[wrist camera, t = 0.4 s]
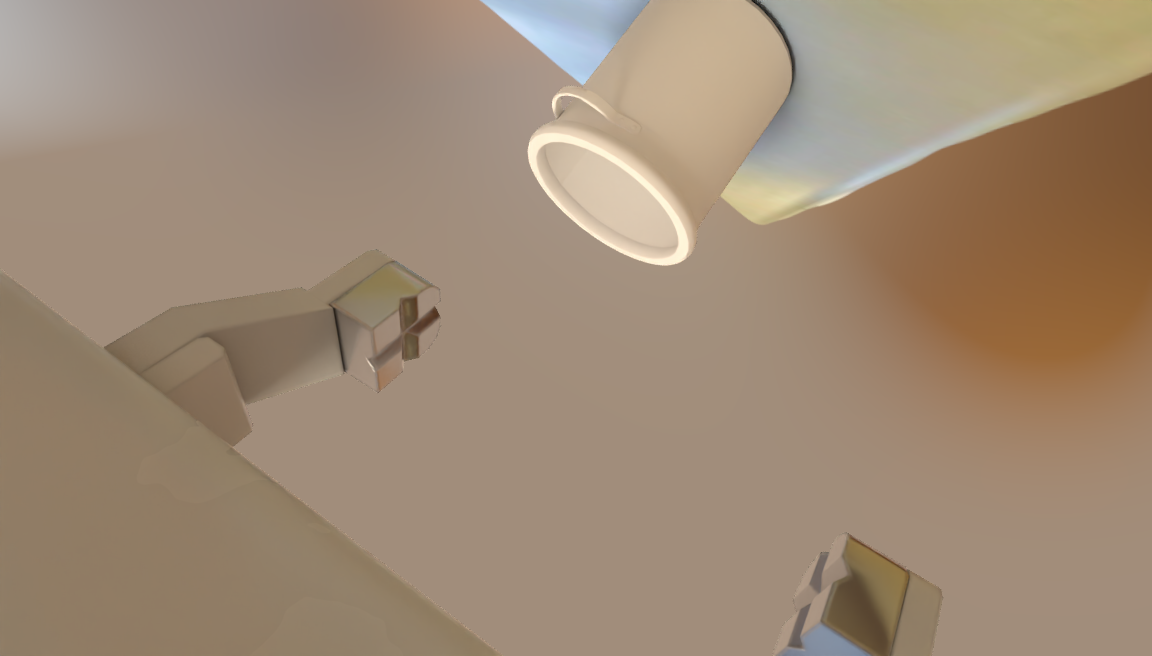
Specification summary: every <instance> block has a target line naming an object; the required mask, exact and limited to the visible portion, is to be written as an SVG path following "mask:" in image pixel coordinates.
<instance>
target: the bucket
mask: <svg viewBox="0 0 1152 656" xmlns="http://www.w3.org/2000/svg"><path fill="white" fill-rule="evenodd" d="M791 81H792V62H791V58H790V54H789V50H788V47H787V45H786V43H785V41H784V39H783V37H782V34H781V33H780V32H779V30H778V29H777V27H776V26H775V24H774V23H773V21H772V20H771V19H770V18H769V17H768V16H767V15H766V14H765V13H764V12H763V10H762V9H761V8H760V7H759V6H757V5H756V4H755V3H753V2H752V1H751V0H650V1H649V3H648V4H647V5H646V6H645V8H644V9H643V10H642V11H641V13H640V14H639V15H638V17H637V18H636V19H635V20H634V22H633V23H632V24H631V25H630V27H629V28H628V29H627V31H626V32H625V33H624V34H623V36H622V37H621V38H620V39H619V41H618V42H617V43H616V45H615V46H614V47H613V48H612V50H611V51H610V52H609V53H608V55H607V56H606V57H605V59H604V60H603V61H602V62H601V64H600V65H599V66H598V67H597V69H596V70H595V71H594V73H593V74H592V75H591V76H590V78H589V79H588V80H587V81H586V83H585V84H584V85H583V87H578V86H565V87H563V88H562V89H561V90H559V92H558V93H557V94H556V95H555V96H554V98H553V100H552V108H553V113H554V115H555V120H554V121H552V122H549V123H547V124H545V125H542V126H540V127H539V128H538V129H537V130H536V131H535V133H534V134H533V135H532V136H531V138H530V142H529V146H528V158H529V163H530V165H531V168H532V171H533V173H534V175H535V176H536V178H537V180H538V182H539V183H540V185H541V186H542V188H543V189H544V190H545V192H546V193H547V194H548V196H549V197H550V198H551V199H552V200H553V201H554V202H555V204H556V205H557V206H558V207H559V208H560V209H561V210H562V211H563V212H564V213H565V214H566V215H567V216H568V217H570V218H571V219H572V220H573V221H574V222H575V223H577V224H578V225H579V226H580V227H581V228H583V229H584V230H585V231H587V232H588V233H589V234H591V235H592V236H594V237H595V238H597V239H598V240H600V241H601V242H603V243H604V244H606V245H608V246H609V247H611V248H613V249H615V250H617V251H619V252H621V253H623V254H625V255H627V256H630V257H632V258H634V259H637V260H640V261H644V262H646V263H651V264H656V265H673V264H676V263H679V262H681V261H683V260H685V259H686V258H687V257H689V256H690V254H691V253H692V252H693V249H694V248H695V246H696V242H697V229H698V228H699V225H700V224H701V222H702V221H703V220H704V218H705V217H706V215H707V214H708V212H709V211H710V209H711V208H712V206H713V205H714V203H715V202H716V201H717V199H718V198H719V196H720V195H721V193H722V192H723V190H724V189H725V187H726V186H727V185H728V183H729V182H730V180H731V179H732V177H733V176H734V174H735V173H736V171H737V170H738V169H739V167H740V166H741V164H742V163H743V161H744V160H745V158H746V157H747V155H748V154H749V152H750V151H751V150H752V148H753V147H754V145H755V144H756V142H757V141H758V139H759V138H760V136H761V135H762V134H763V132H764V131H765V129H766V128H767V126H768V125H769V123H770V122H771V120H772V119H773V117H774V116H775V115H776V113H777V112H778V110H779V109H780V107H781V106H782V104H783V103H784V101H785V99H786V97H787V96H788V94H789V90H790V86H791ZM566 95H567V96H574V98H573V99H572V101H571V102H570V103H569V105H568V106H567V107H566V108H565V110H564V111H563V108H562V104H561V97H562V96H566Z"/></svg>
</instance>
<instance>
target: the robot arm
mask: <svg viewBox="0 0 1152 656" xmlns="http://www.w3.org/2000/svg"><path fill="white" fill-rule="evenodd" d="M440 301H441V298H440V289H439V288H438V287H436V286H435V285H433V284H432V283H430V282H428V281H427V280H425V279H424V278H422V277H421V276H419V275H417V274H416V273H414V272H413V271H411V270H409V269H408V268H406V267H405V266H403V265H401V264H400V263H399V262H397V261H395V260H394V259H392V258H390V257H389V256H387V255H386V254H384V253H382V252H381V251H379V250H377V249H376V250H371V251H367V252H365V253H364V254H362V255H361V256H359V257H358V258H356V259H355V260H353V261H352V262H350V263H349V264H347V265H346V266H344V267H343V268H341V269H340V270H338V271H337V272H335V273H333V274H332V275H331V276H329V277H328V278H326V279H324V280H323V281H321V282H320V283H319V284H317V285H315V286H314V287H312V288H311V289H309V290H308V291H307V290H305V289H303V288H302V287H301V288H295V289H289V290H282V291H276V292H269V293H263V294H256V295H250V296H243V297H237V298H231V299H224V300H218V301H211V302H205V303H198V304H192V305H185V306H179V307H173V308H170V309H169V310H167V311H165V312H163V313H162V314H160V315H158V316H157V317H155V318H153V319H152V320H150V321H148V322H147V323H145V324H143V325H141V326H140V327H138V328H136V329H134V330H133V331H131V332H129V333H128V334H126V335H124V336H122V337H121V338H119V339H117V340H116V341H114V342H112V343H110V344H109V345H107V346H105V347H104V348H103V347H102V346H100V345H99V344H98V343H96V342H95V341H94V340H93V339H91V338H90V337H89V336H87V335H86V334H85V333H83V332H82V331H81V330H79V329H78V328H77V327H76V326H74V325H73V324H72V323H70V322H69V321H68V320H66V319H65V318H64V317H63V316H61V315H60V314H59V313H57V312H56V311H55V310H53V309H52V308H51V307H50V306H48V305H47V304H46V303H44V302H43V301H42V300H40V299H39V298H38V297H36V296H35V295H34V294H33V293H31V292H30V291H29V290H27V289H26V288H25V287H23V286H22V285H21V284H19V283H18V282H17V281H15V280H14V279H13V278H12V277H10V276H9V275H8V274H7V273H5V272H4V271H3V270H2V269H0V656H504V655H502V654H501V653H499V652H498V651H497V650H496V649H494V648H493V647H492V646H490V645H489V644H488V643H487V642H485V641H484V640H483V639H481V638H480V637H479V636H477V635H476V634H475V633H474V632H472V631H471V630H470V629H468V628H467V627H466V626H464V625H463V624H462V623H460V622H459V621H458V620H457V619H455V618H454V617H453V616H451V615H450V614H449V613H448V612H446V611H445V610H444V609H442V608H441V607H440V606H438V605H437V604H436V603H435V602H433V601H432V600H431V599H429V598H428V597H427V596H425V595H424V594H423V593H422V592H420V591H419V590H418V589H416V588H415V587H414V586H412V585H411V584H410V583H409V582H407V581H406V580H405V579H403V578H402V577H401V576H399V575H398V574H397V573H396V572H394V571H393V570H392V569H390V568H389V567H388V566H386V565H385V564H384V563H383V562H381V561H380V560H379V559H377V558H376V557H374V556H373V555H372V554H371V553H369V552H368V551H367V550H366V549H364V548H363V547H362V546H360V545H359V544H358V543H357V542H355V541H354V540H353V539H351V538H350V537H349V536H347V535H346V534H345V533H344V532H342V531H341V530H340V529H338V528H337V527H335V526H334V525H333V524H332V523H330V522H329V521H328V520H327V519H325V518H324V517H323V516H321V515H320V514H319V513H318V512H316V511H315V510H314V509H312V508H311V507H310V506H308V505H307V504H306V503H304V502H303V501H302V500H301V499H299V498H298V497H297V496H295V495H294V494H293V493H292V492H290V491H289V490H288V489H286V488H285V487H284V486H282V485H281V484H280V483H279V482H277V481H276V480H274V479H273V478H272V477H271V476H269V475H268V474H267V473H265V472H264V471H263V470H262V469H260V468H259V467H258V466H256V465H255V464H254V463H253V462H251V461H250V460H249V459H247V458H246V457H244V456H243V455H242V454H241V453H240V452H238V451H237V450H235V449H234V448H233V446H235V445H236V444H237V443H238V442H239V441H241V440H242V439H243V438H244V437H246V436H247V435H248V434H249V433H251V432H252V427H253V423H252V421H251V418H250V415H249V412H248V410H247V407H246V405H247V404H250V403H254V402H257V401H260V400H263V399H266V398H270V397H273V396H276V395H279V394H282V393H286V392H289V391H292V390H295V389H298V388H302V387H304V386H308V385H311V384H314V383H317V382H320V381H324V380H327V379H330V378H333V377H336V376H340V375H343V374H344V372H346V373H348V374H349V375H351V376H352V377H354V378H355V379H357V380H359V381H360V382H362V383H363V384H365V385H366V386H368V387H370V388H371V389H372V390H374V391H376V392H377V393H379V392H380V391H381V390H382V389H383V388H385V387H386V386H387V385H388V384H389V383H390V382H391V381H393V379H395V378H396V377H397V376H398V375H399V374H401V373H402V372H403V366H404V361H407V360H411V359H416V358H419V357H420V356H421V355H422V354H424V353H425V352H426V351H427V350H428V349H429V348H430V346H431V345H432V343H433V342H434V340H435V339H436V337H437V335H438V332H439V329H440V319H441V318H440V315H439V313H438V311H437V309H436V308H435V305H437V304H438V303H439V302H440ZM942 600H943V596H942V591H941V589H940V588H939V587H937V586H936V585H934V584H932V583H930V582H929V581H927V580H925V579H924V578H922V577H920V576H918V575H917V574H915V573H913V572H912V571H910V570H908V569H906V567H905V566H903V565H901V564H900V563H898V562H897V561H895V560H893V559H891V558H889V557H888V556H886V555H885V554H883V553H881V552H879V551H878V550H876V549H874V548H872V547H871V546H869V545H867V544H866V543H864V542H862V541H861V540H859V539H857V538H855V537H854V536H852V535H850V534H849V533H842V534H841V535H839V536H838V537H837V538H836V539H835V540H834V541H833V544H832V547H831V550H830V552H821V553H820V554H819V555H818V556H817V558H815V560H814V561H813V562H812V563H811V564H810V566H809V567H808V569H807V571H806V572H805V574H804V575H803V577H802V579H801V581H800V583H799V585H798V588H797V591H796V593H795V595H794V598H793V602H794V606H795V610H796V613H795V614H794V615H793V616H792V617H791V618H790V619H788V620H787V621H786V622H785V623H784V624H783V627H782V630H781V633H780V636H779V638H778V641H777V644H776V646H775V649H774V652H773V655H772V656H932V652H933V647H934V642H935V636H936V631H937V626H938V621H939V616H940V610H941V605H942Z"/></svg>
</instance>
